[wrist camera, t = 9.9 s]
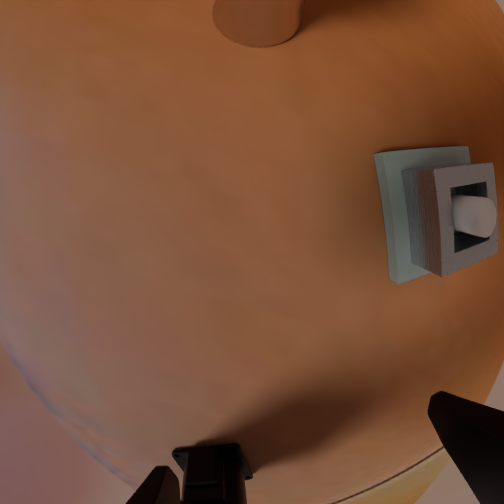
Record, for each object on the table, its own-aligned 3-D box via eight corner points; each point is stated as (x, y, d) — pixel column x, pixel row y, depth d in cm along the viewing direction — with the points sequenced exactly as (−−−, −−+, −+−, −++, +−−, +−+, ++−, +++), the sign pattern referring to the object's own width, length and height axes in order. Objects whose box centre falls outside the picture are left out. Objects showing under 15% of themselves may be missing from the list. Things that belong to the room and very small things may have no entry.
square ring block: (468, 243, 18) (498, 252, 15) (411, 263, 18) (441, 277, 15) (461, 163, 17) (492, 162, 13) (400, 170, 16) (433, 169, 13)
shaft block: (468, 251, 20) (517, 268, 14) (389, 279, 19) (438, 309, 13) (458, 146, 18) (511, 142, 12) (373, 154, 17) (427, 144, 11)
